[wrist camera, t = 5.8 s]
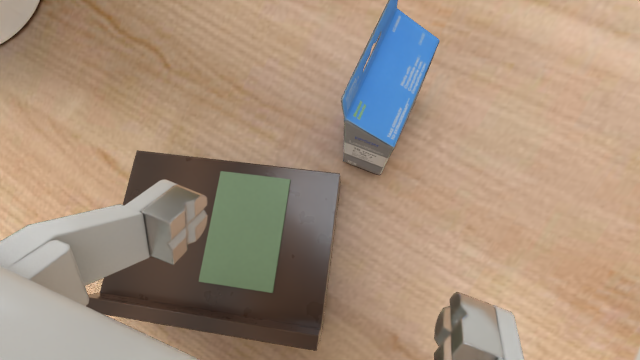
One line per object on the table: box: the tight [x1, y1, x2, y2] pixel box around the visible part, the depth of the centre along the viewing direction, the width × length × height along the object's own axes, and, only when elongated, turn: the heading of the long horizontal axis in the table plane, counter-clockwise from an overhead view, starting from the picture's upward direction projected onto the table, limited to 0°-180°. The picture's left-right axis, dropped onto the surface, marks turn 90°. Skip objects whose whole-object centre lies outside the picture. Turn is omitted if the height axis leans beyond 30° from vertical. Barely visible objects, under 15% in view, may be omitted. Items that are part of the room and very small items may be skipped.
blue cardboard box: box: [341, 0, 439, 175], centre depth 24 cm, size 9×4×12 cm, turn 155°
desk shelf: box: [86, 151, 341, 351], centre depth 27 cm, size 18×13×5 cm
